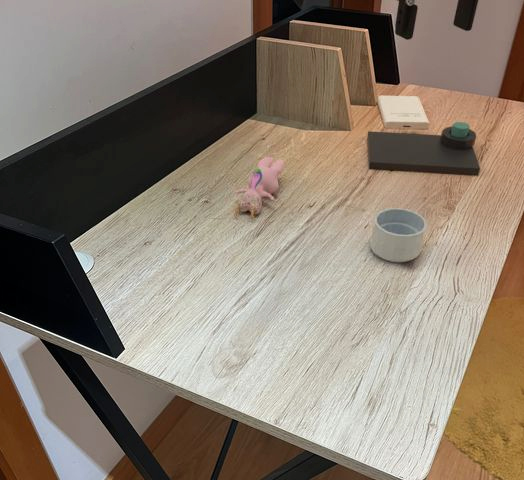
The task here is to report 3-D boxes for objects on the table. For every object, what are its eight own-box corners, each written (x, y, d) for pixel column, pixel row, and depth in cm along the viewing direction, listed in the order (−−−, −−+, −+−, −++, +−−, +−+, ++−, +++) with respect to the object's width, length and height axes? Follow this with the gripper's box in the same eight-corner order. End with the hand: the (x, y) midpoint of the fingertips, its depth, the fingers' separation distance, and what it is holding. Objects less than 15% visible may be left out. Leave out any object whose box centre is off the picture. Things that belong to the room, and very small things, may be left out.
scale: (468, 143, 103) (473, 127, 101) (480, 176, 94) (485, 159, 92) (366, 137, 104) (369, 121, 102) (368, 169, 96) (371, 152, 93)
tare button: (465, 132, 100) (468, 122, 99) (468, 139, 98) (470, 129, 97) (449, 131, 100) (452, 121, 99) (451, 138, 99) (454, 128, 97)
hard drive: (417, 104, 116) (428, 130, 107) (377, 103, 116) (384, 129, 107) (419, 96, 115) (430, 121, 106) (378, 95, 115) (385, 120, 106)
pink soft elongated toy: (264, 231, 84) (295, 171, 93) (262, 198, 80) (295, 138, 88) (225, 222, 86) (259, 164, 94) (221, 190, 81) (257, 132, 89)
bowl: (417, 237, 81) (424, 209, 78) (422, 266, 76) (429, 237, 73) (369, 234, 82) (373, 206, 79) (370, 262, 77) (375, 234, 74)
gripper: (422, -126, 60) (395, 48, 72) (546, -132, 66) (501, 32, 78) (383, -133, 65) (363, 32, 77) (502, -138, 70) (466, 18, 82)
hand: (433, 32), depth 77 cm, fingers open, 9 cm apart
